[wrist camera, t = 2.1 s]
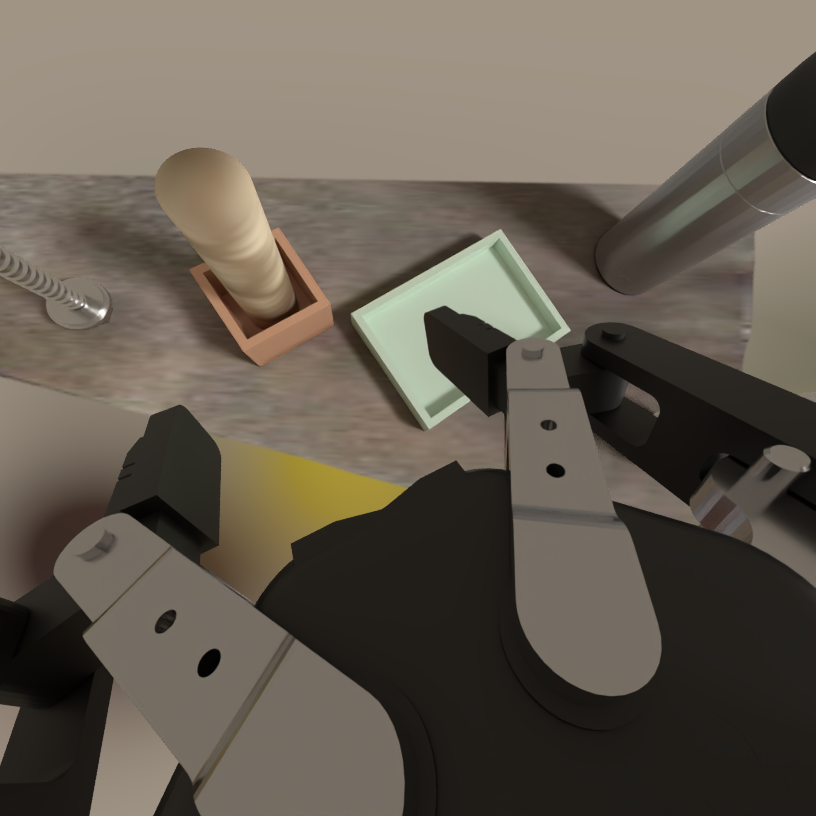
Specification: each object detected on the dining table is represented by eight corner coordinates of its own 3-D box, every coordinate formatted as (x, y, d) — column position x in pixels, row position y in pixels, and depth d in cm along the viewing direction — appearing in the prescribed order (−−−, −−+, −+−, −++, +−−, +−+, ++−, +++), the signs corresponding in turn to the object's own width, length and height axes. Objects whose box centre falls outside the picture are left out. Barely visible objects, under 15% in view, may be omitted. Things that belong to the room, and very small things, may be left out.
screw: (60, 332, 29) (75, 284, 30) (118, 341, 30) (131, 294, 31) (-165, 241, 17) (-129, 162, 17) (-55, 261, 17) (-25, 184, 18)
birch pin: (282, 277, 33) (222, 134, 18) (308, 316, 33) (271, 206, 18) (237, 299, 32) (135, 168, 17) (264, 340, 31) (186, 244, 17)
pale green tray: (491, 243, 38) (500, 229, 36) (556, 338, 38) (570, 330, 36) (351, 323, 34) (350, 313, 32) (423, 430, 34) (429, 429, 31)
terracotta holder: (289, 259, 34) (278, 227, 29) (334, 325, 34) (330, 304, 29) (214, 297, 32) (188, 269, 27) (260, 367, 32) (243, 351, 27)
